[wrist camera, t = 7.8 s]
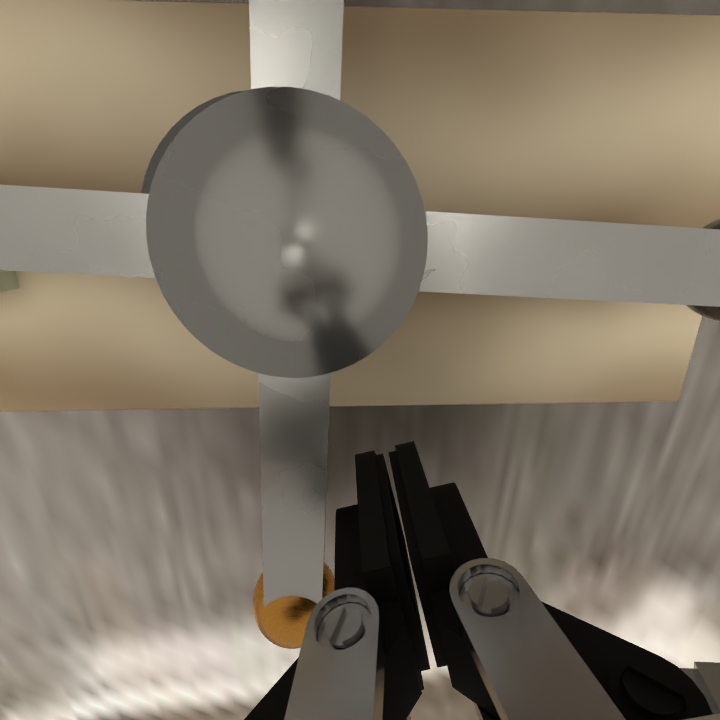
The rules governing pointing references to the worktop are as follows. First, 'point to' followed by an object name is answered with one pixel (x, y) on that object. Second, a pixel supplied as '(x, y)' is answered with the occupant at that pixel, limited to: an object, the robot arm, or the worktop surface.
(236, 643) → the worktop surface
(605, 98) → the board
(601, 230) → the capstan
